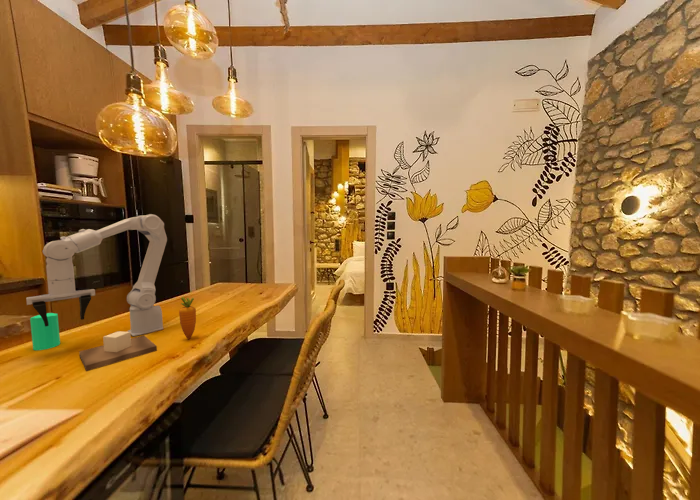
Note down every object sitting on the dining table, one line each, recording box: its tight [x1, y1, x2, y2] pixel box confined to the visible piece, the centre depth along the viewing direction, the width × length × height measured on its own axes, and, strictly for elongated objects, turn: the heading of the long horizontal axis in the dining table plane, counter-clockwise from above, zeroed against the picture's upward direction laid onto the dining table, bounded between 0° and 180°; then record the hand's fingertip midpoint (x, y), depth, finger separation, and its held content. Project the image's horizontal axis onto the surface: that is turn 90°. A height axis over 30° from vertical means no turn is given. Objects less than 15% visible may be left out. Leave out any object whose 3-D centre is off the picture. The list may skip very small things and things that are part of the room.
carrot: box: [178, 296, 197, 340], centre depth 93 cm, size 5×5×15 cm
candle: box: [29, 312, 61, 351], centre depth 89 cm, size 6×6×12 cm
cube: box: [102, 330, 132, 352], centre depth 83 cm, size 4×4×4 cm
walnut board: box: [78, 334, 158, 372], centre depth 83 cm, size 16×14×2 cm
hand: (65, 322), depth 85 cm, fingers open, 7 cm apart
